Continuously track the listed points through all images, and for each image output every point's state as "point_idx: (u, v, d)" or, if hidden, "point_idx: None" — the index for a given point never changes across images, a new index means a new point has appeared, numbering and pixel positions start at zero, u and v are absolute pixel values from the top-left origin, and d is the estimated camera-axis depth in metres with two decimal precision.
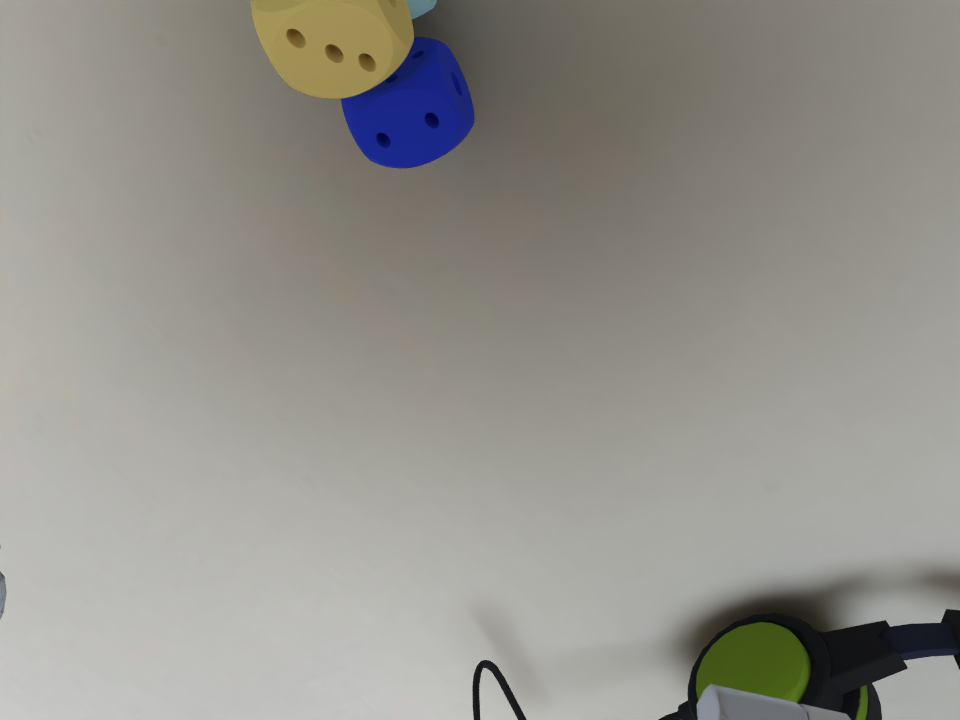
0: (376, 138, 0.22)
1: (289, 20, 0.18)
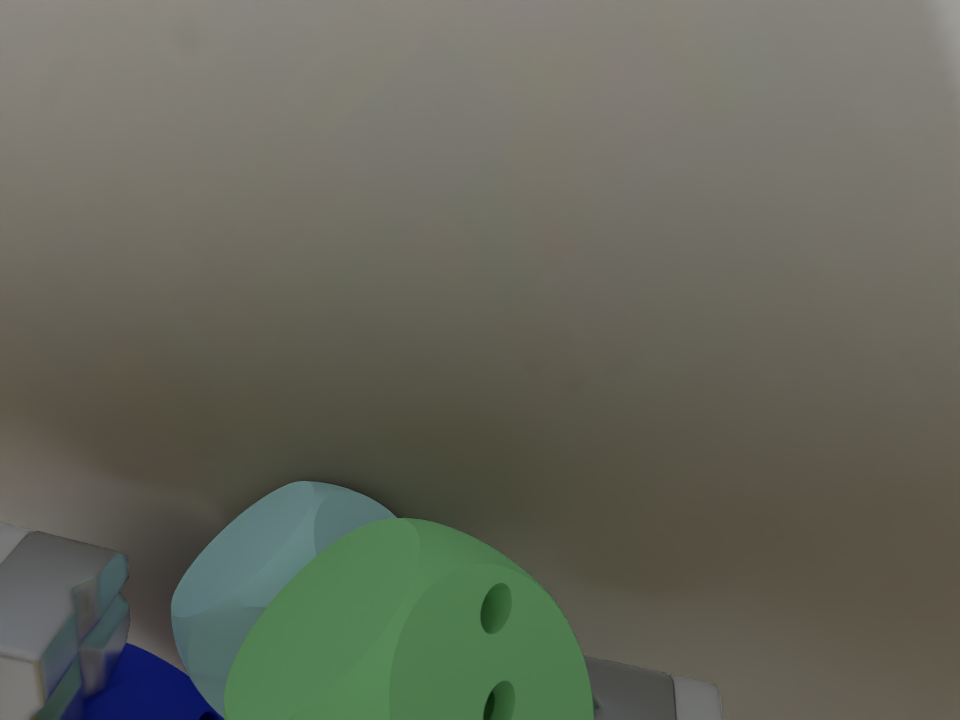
0: None
1: None
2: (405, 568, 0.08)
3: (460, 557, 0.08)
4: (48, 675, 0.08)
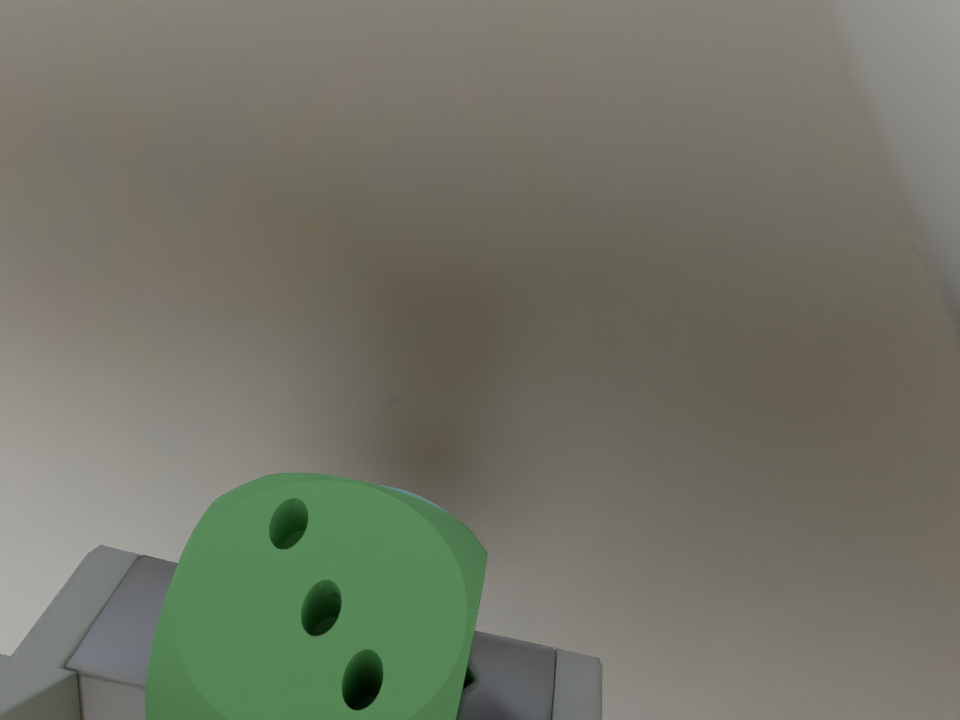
0: None
1: None
2: None
3: (239, 499, 0.08)
4: None
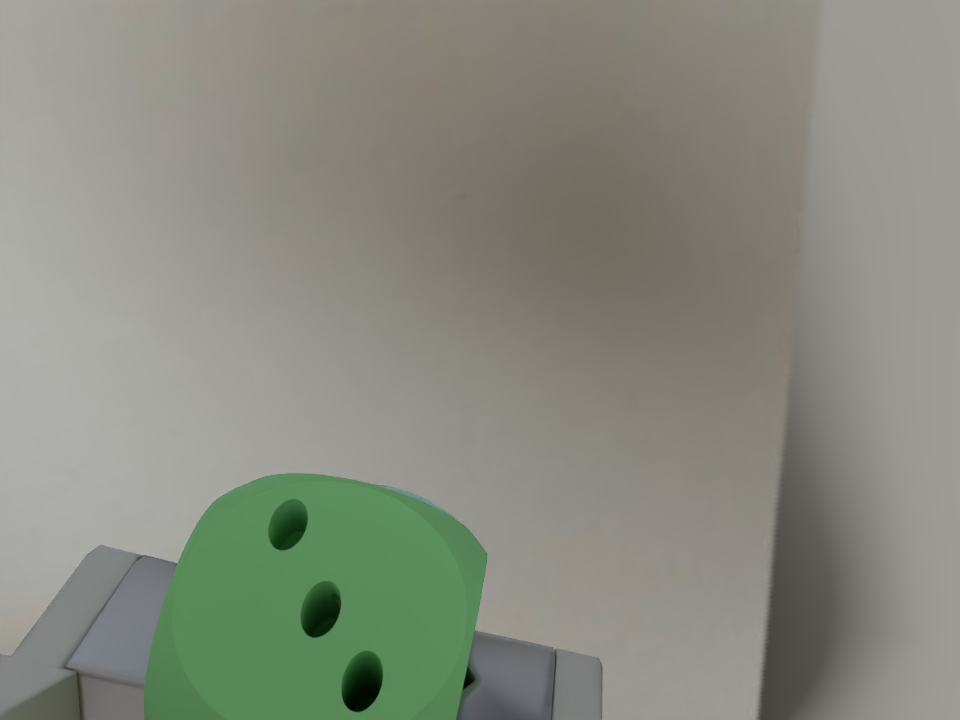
0: None
1: None
2: None
3: (239, 500, 0.08)
4: None
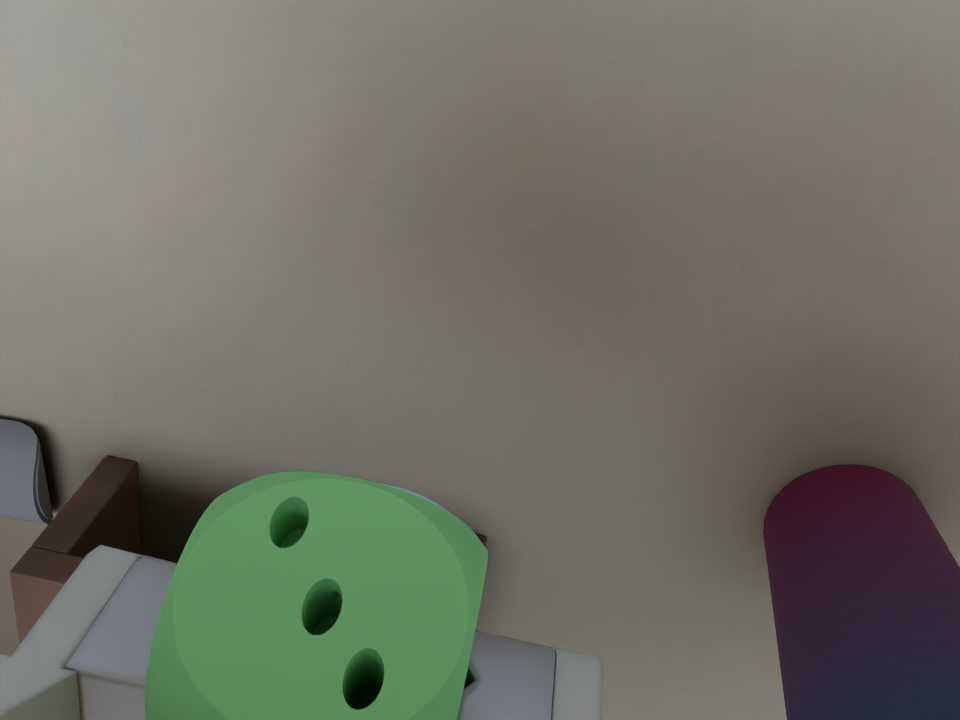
0: None
1: None
2: None
3: (240, 498, 0.08)
4: None
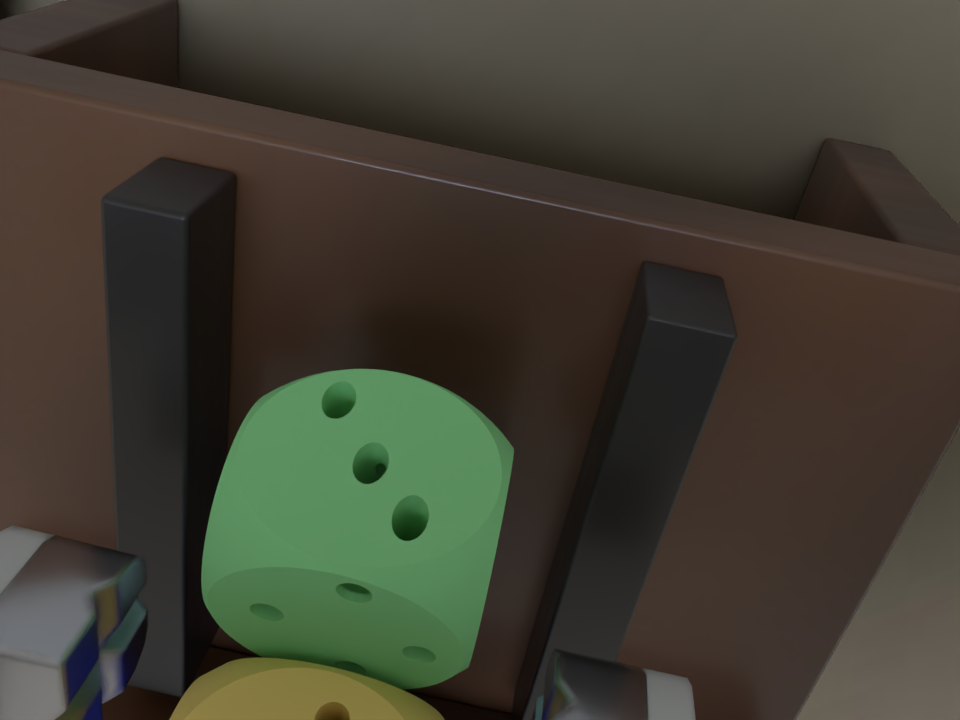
0: None
1: None
2: None
3: (293, 384, 0.09)
4: (70, 680, 0.08)
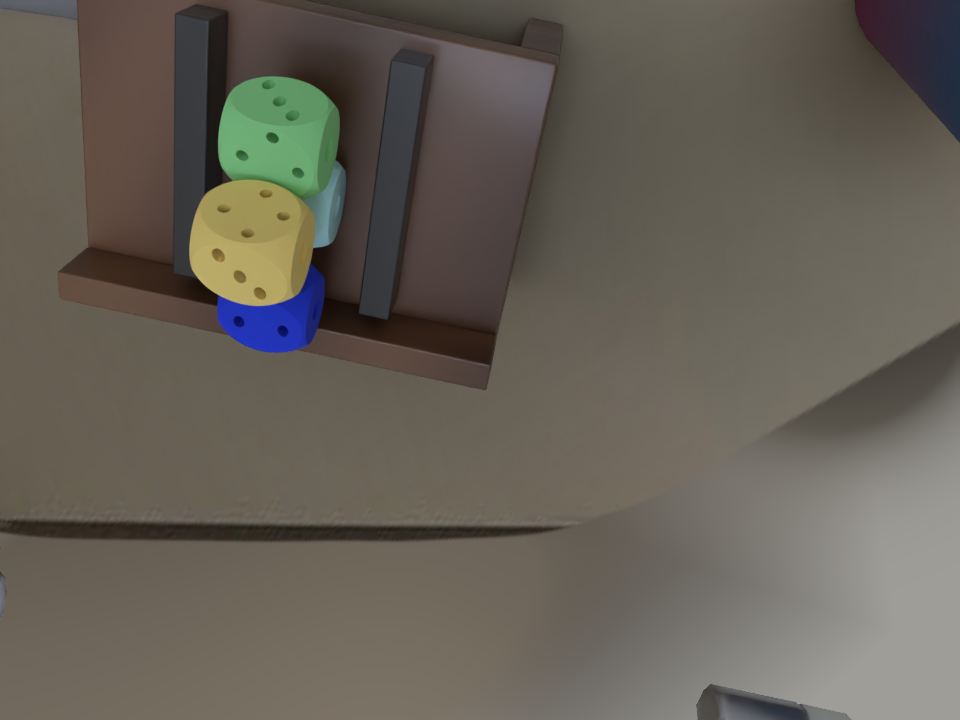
0: (234, 317, 0.26)
1: (221, 244, 0.22)
2: None
3: None
4: None
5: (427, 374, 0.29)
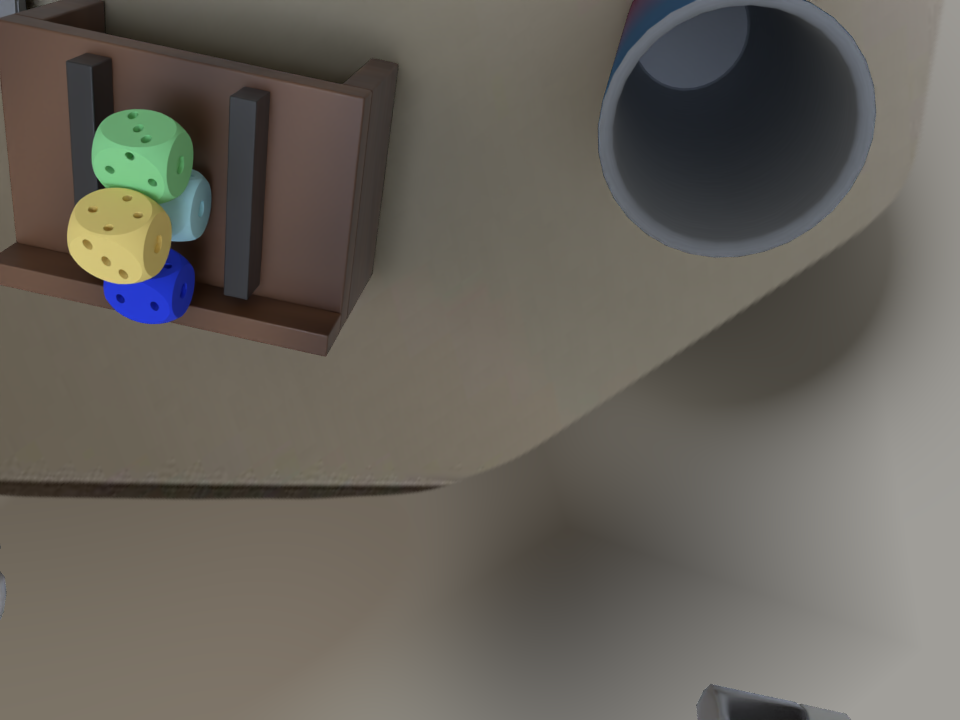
0: (116, 295, 0.33)
1: (88, 236, 0.29)
2: None
3: None
4: None
5: (279, 343, 0.36)
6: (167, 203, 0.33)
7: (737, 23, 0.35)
